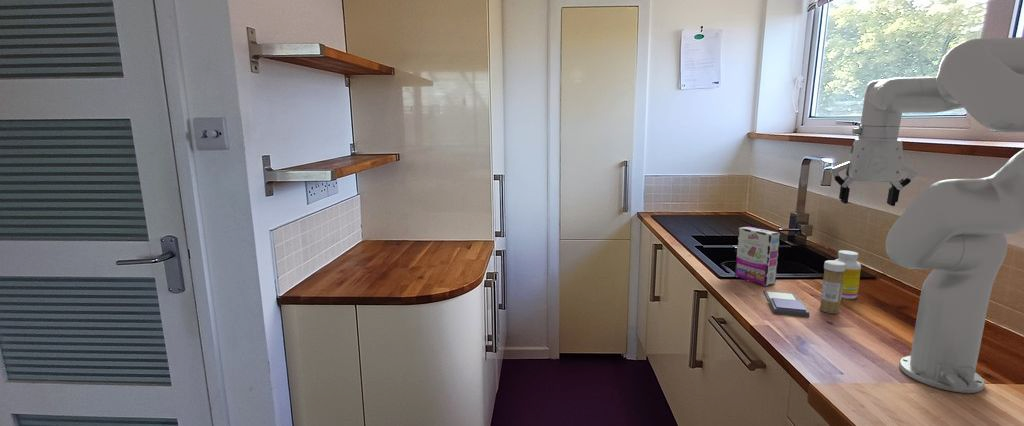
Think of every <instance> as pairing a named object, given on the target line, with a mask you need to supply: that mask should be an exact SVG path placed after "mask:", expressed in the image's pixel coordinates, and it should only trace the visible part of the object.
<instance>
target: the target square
mask: <svg viewBox="0 0 1024 426" xmlns="http://www.w3.org/2000/svg"><path fill="white" fill-rule="evenodd" d="M763 293H764V295H765V298H766V300H767V301H768V302H769V298H779V299H790V300H799V298H798V297H797V295H796V293H794V292H787V291H786V292H785V291H775V290H764V289H763Z"/></svg>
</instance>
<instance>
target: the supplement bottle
mask: <svg viewBox="0 0 1024 426" xmlns="http://www.w3.org/2000/svg"><path fill="white" fill-rule="evenodd" d="M837 256H838V258H836V259H834V261H840V262H843V263H845V271H844V274H843V284H842V295H841V299H843V300H844V299H845V300H853V299H854V300H855V299H856V298H857V297H858V294H859V293H858V292H859V287H860V279H861V272H862V271H861V270H862V265H861V263H860V262H859V261H857V260H858V259H859V253H858V252H856V251H852V250H845V249H843V250H839V251H838V252H837Z"/></svg>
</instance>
